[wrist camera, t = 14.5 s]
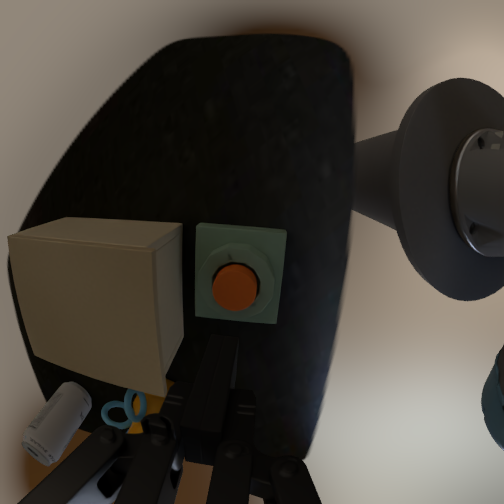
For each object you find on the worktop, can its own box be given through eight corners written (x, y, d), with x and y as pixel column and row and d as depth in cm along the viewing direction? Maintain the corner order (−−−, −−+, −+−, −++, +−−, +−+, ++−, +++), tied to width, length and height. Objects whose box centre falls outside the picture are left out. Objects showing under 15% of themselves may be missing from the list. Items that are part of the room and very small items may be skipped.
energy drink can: (85, 409, 36) (47, 469, 21) (59, 385, 35) (15, 441, 20) (99, 400, 34) (58, 468, 20) (72, 374, 33) (22, 436, 19)
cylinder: (161, 344, 30) (107, 441, 16) (224, 397, 32) (205, 497, 18) (112, 383, 33) (65, 459, 18) (167, 426, 35) (139, 505, 20)
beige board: (156, 248, 18) (151, 251, 17) (167, 391, 21) (165, 397, 20) (12, 234, 18) (7, 236, 17) (38, 351, 22) (34, 355, 21)
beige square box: (183, 223, 26) (146, 246, 18) (184, 336, 30) (159, 388, 21) (66, 216, 27) (13, 234, 18) (78, 315, 30) (38, 351, 22)
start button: (258, 265, 24) (258, 272, 22) (255, 304, 25) (254, 313, 23) (216, 261, 24) (212, 268, 22) (215, 300, 25) (211, 309, 23)
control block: (285, 229, 26) (288, 237, 23) (275, 316, 28) (276, 334, 25) (200, 222, 26) (190, 229, 23) (198, 308, 29) (190, 325, 25)
